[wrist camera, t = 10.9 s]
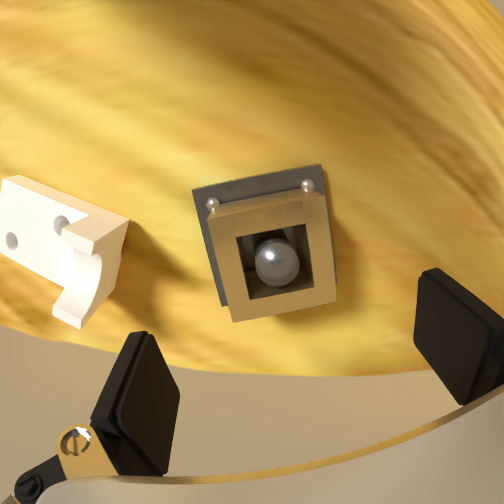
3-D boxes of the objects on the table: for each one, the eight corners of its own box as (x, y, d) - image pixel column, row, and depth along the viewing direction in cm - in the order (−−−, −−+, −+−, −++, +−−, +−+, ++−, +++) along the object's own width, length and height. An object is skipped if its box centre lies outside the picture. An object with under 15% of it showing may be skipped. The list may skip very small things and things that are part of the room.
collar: (214, 205, 22) (206, 219, 17) (307, 187, 22) (325, 196, 17) (234, 290, 24) (232, 322, 20) (319, 273, 24) (336, 301, 19)
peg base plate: (193, 188, 23) (174, 202, 17) (317, 164, 23) (347, 168, 16) (222, 301, 26) (216, 347, 20) (333, 278, 26) (360, 318, 19)
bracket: (133, 216, 24) (94, 242, 17) (115, 287, 26) (80, 329, 19) (25, 173, 22) (-27, 184, 15) (15, 239, 24) (-31, 263, 17)
